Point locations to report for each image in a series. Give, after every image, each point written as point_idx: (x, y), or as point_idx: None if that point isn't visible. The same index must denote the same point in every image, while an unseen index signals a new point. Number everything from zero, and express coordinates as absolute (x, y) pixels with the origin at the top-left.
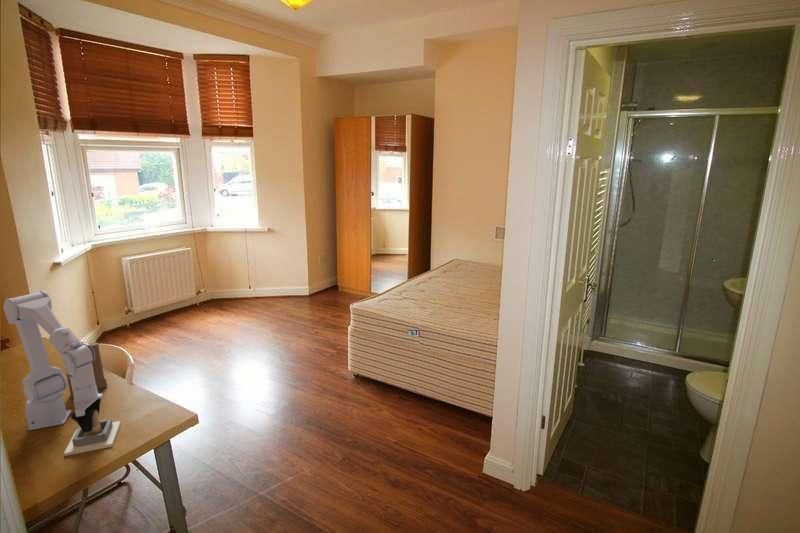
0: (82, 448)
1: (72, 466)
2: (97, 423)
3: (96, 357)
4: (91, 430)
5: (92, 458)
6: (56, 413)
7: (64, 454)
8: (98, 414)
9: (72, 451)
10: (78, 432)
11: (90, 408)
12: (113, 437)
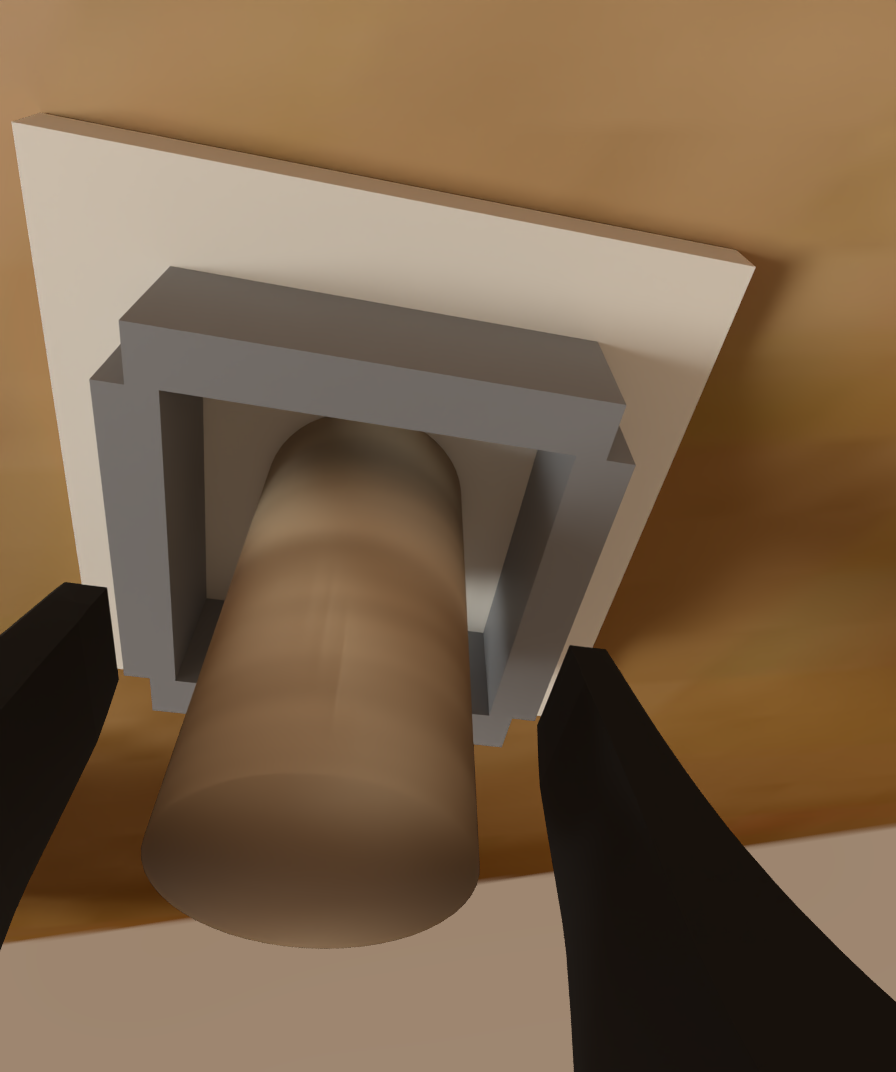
0: (592, 594)
1: (808, 625)
2: (425, 598)
3: None
4: (608, 655)
5: (825, 476)
6: None
7: None
8: (87, 613)
9: None
10: None
11: (8, 852)
12: (578, 248)
